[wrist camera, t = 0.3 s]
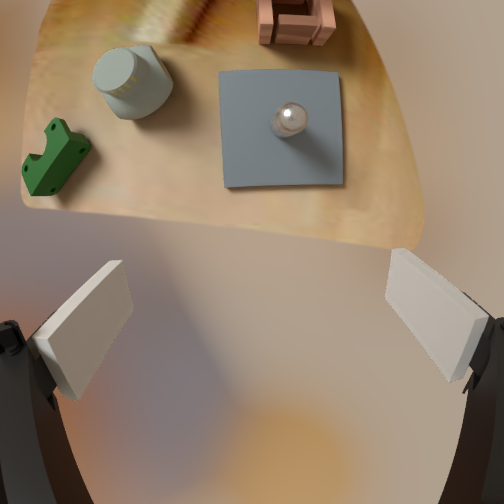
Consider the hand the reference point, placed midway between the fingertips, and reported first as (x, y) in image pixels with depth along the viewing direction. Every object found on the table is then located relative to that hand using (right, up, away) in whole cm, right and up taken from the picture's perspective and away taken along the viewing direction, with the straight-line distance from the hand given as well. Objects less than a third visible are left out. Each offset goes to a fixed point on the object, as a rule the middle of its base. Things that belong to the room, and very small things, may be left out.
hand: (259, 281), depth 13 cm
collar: (+5, +34, +17) cm, 38 cm away
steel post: (+4, +18, +21) cm, 28 cm away
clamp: (-30, +17, +23) cm, 41 cm away
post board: (+4, +18, +22) cm, 29 cm away
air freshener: (-16, +25, +20) cm, 36 cm away
